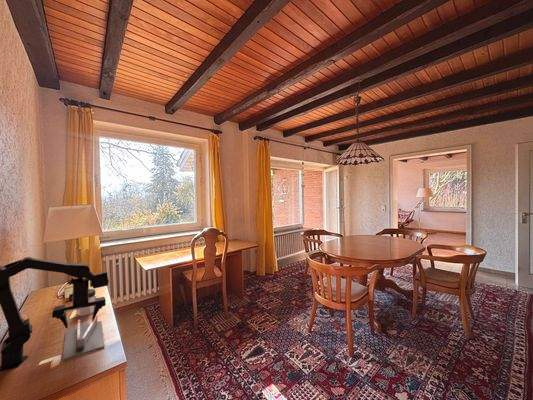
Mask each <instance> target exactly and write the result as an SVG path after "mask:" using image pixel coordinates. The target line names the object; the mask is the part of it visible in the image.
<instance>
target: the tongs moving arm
mask: <svg viewBox="0 0 533 400" xmlns="http://www.w3.org/2000/svg"><path fill="white" fill-rule="evenodd" d="M97 322H98V315H96V317H95V319H94V321H93V322H92V321H91V322H90V323H89V324H90V326H89V327H88V329H87V331H86V332H85V334H84V336H83V337H82V338H83V339H84V346H85V344H86V342H87V341H88V339H89V337H90V335H91V334H92V332H93V330H94V328H95V326H96V325H97Z"/></svg>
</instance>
